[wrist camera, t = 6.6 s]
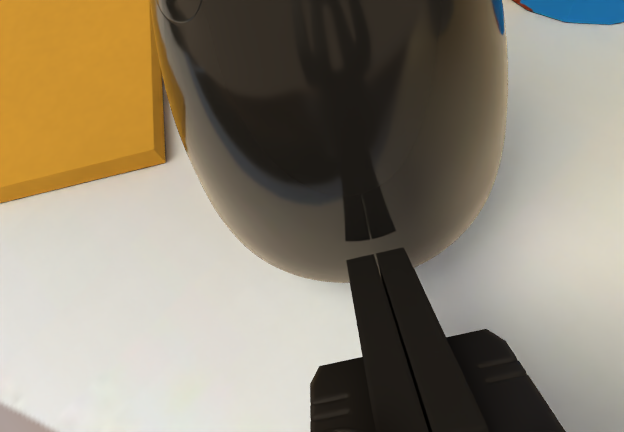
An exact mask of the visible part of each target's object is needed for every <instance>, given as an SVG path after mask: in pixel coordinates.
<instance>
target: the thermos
mask: <svg viewBox="0 0 624 432" xmlns="http://www.w3.org/2000/svg"><path fill="white" fill-rule="evenodd" d="M513 1H514V2H516V3H517V4H519V5H520V6H522V7H523V8H525V9H526V10H528V11H531V12H535V13H538V14H541V15H544V16H547V17H551V18H554V19H557V20H560V21H563V22H571V23H589V24H608V25H610V24H616V23H621V22H624V0H513Z"/></svg>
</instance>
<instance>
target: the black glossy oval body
mask: <svg viewBox="0 0 624 432" xmlns="http://www.w3.org/2000/svg"><path fill="white" fill-rule="evenodd" d="M150 6H151V15H152V22H153V29H154V35H155V42H156V48H157V53H158V58H159V63H160V68H161V72H162V77H163V81H164V85H165V89H166V93H167V97H168V100H169V104H170V107H171V111H172V114H173V117H174V120H175V123H176V126H177V129H178V132H179V135H180V137H181V140H182V143H183V145H184V148H185V150H186V152H187V155H188V157H189V159H190V162H191V164H192V166H193V168H194V170H195V173H196V175H197V177H198V179H199V181H200V183H201V185H202V187H203V189H204V191H205V193H206V195H207V197H208V199H209V200H210V202H211V204H212V205H213V207H214V209H215V210H216V212H217V213H218V215H219V216H220V218H221V219H222V221H223V222H224V223H225V225H226V226H227V227H228V228H229V230H230V231H231V232H232V233H233V234H234V235H235V237H236V238H237V239H238V240H239V241H240V242H241V243H242V244H243V245H244V246H245V247H246V248H248V249H249V250H250V251H251V252H252V253H254V254H255V255H257V256H258V257H259V258H261V259H262V260H264V261H266V262H267V263H269V264H271V265H273V266H275V267H276V268H279V269H281V270H283V271H285V272H288V273H291V274H294V275H297V276H300V277H304V278H308V279H312V280H318V281H325V282H336V283H350V280H349V274H348V268H347V262H346V260H349V259H353V258H358V257H362V256H366V255H371V254H374V256H375V259H376V263H377V266H378V269H379V265H378V261H377V256H376V253H380V252H384V251H388V250H393V249H397V248H401V247H404V249H405V251H406V253H407V255H408V257H409V259H410V262H411V264H412V266H413V268H414V267H417V266H419V265H421V264H423V263H424V262H426V261H428V260H430V259H431V258H433V257H435V256H436V255H438V254H439V253H441V252H442V251H443V250H445V249H446V248H447V247H449V246H450V245H451V244H452V243H453V242H455V241H456V240H457V239H458V238H459V237H460V236H461V235H462V234H463V233H464V232H465V231H466V230H467V229H468V227H469V226H470V225H471V224H472V222H473V221H474V220H475V218H476V217H477V216H478V214H479V213H480V211H481V209H482V208H483V206H484V204H485V202H486V201H487V199H488V196H489V194H490V192H491V190H492V187H493V185H494V182H495V179H496V176H497V173H498V169H499V165H500V161H501V157H502V152H503V146H504V139H505V129H506V116H507V96H508V56H507V39H506V29H505V19H504V11H503V4H502V0H150ZM379 272H380V270H379ZM380 276H381V274H380Z"/></svg>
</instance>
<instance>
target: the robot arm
mask: <svg viewBox="0 0 624 432" xmlns="http://www.w3.org/2000/svg"><path fill="white" fill-rule="evenodd" d="M376 256H377V261H378V265H379V269H378V266H377V263H376V259H375V256H374V254H371V255H366V256H362V257H358V258H353V259H349V260H346V262H347V268H348V274H349V280H350V286H351V291H352V297H353V303H354V309H355V315H356V320H357V326H358V332H359V338H360V344H361V350H362V355H363V357H360V358H356V359H351V360H346V361H341V362H337V363H332V364H327V365H323V366H319V368H318V370H317V372H316V374H315V376H314V378H313V380H312V382H311V384H310V402H311V406H310V409H311V432H566V431H565V430H564V429H563V427H562V426H561V424H560V423H559V421H558V420H557V418H556V417H555V415H554V413H553V412H552V410H551V409H550V407H549V406H548V404H547V403H546V401H545V400H544V398H543V397H542V395H541V394H540V392H539V391H538V389H537V388H536V386H535V385H534V383H533V382H532V380H531V379H530V377H529V376H528V375H527V374H526V371H525V370H524V368H523V367H522V365H521V364H520V362H519V361H517V358H516V356H515V355H514V353H513V352H512V350H511V349H510V347H509V346H508V344H507V343H506V341H505V340H503V339H502V338H500V337H498V336H497V335H495V334H494V333H492V332H490V331H489V330H487V329H484V330H479V331H474V332H470V333H465V334H460V335H455V336H451V337H446V336H445V334H444V332H443V330H442V328H441V326H440V324H439V321H438V319H437V317H436V315H435V313H434V311H433V309H432V306H431V304H430V302H429V300H428V298H427V296H426V294H425V292H424V289H423V287H422V285H421V283H420V281H419V279H418V277H417V274H416V272H415V270H414V268H413V266H412V264H411V262H410V259H409V257H408V255H407V253H406V251H405V249H404V247H401V248H397V249H393V250H388V251H384V252H380V253H376ZM379 270H380V272H379ZM380 274H381V276H380Z"/></svg>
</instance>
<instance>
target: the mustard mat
mask: <svg viewBox="0 0 624 432" xmlns="http://www.w3.org/2000/svg"><path fill="white" fill-rule="evenodd" d="M165 162H166V160H165V137H164V114H163V91H162V72H161V68H160V63H159V58H158V53H157V48H156V42H155V35H154V29H153V22H152V15H151V6H150V0H0V203H3V202H7V201H11V200H15V199H19V198H23V197H27V196H31V195H35V194H39V193H44V192H48V191H52V190H56V189H60V188H64V187H68V186H72V185H76V184H80V183H84V182H88V181H93V180H97V179H101V178H105V177H109V176H113V175H117V174H121V173H125V172H129V171H133V170H137V169H142V168H146V167H150V166H154V165H158V164H162V163H165Z"/></svg>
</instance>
